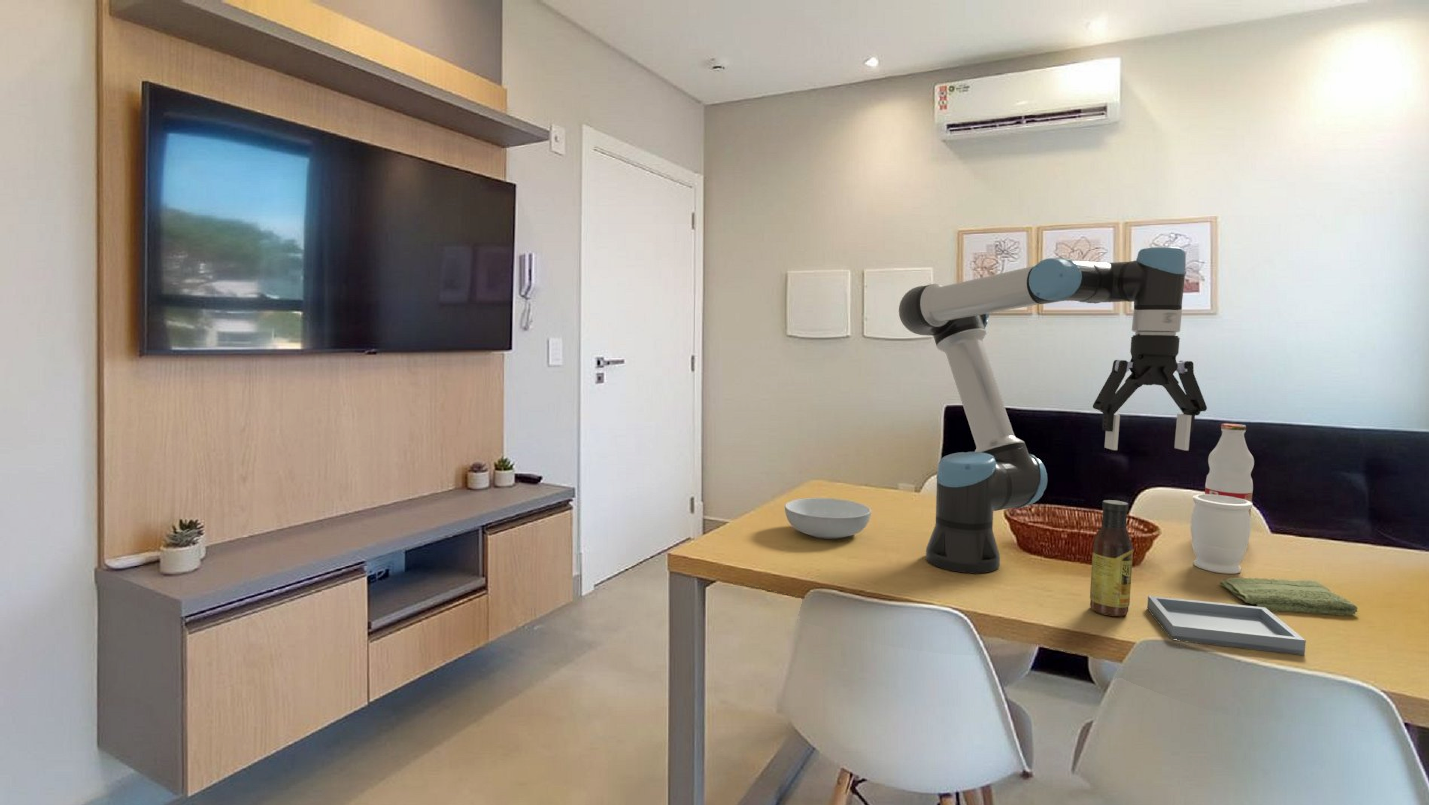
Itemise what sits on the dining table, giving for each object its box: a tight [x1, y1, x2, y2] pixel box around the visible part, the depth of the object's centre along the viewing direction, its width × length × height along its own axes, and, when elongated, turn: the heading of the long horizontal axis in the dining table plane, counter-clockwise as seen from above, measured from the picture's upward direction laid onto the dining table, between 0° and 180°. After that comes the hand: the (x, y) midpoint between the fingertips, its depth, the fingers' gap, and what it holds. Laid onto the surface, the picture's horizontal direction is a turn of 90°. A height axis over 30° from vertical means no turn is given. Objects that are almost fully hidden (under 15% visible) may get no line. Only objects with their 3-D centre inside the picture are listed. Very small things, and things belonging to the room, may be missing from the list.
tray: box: [1146, 595, 1307, 656], centre depth 120 cm, size 18×14×2 cm
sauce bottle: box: [1089, 499, 1134, 617], centre depth 127 cm, size 7×6×20 cm
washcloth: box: [1219, 577, 1358, 617], centre depth 134 cm, size 13×18×3 cm
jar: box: [1190, 493, 1253, 575], centre depth 152 cm, size 11×10×15 cm
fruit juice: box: [1204, 423, 1255, 517], centre depth 175 cm, size 9×9×28 cm
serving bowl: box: [784, 497, 872, 540], centre depth 176 cm, size 21×21×7 cm
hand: (1146, 449), depth 132 cm, fingers open, 13 cm apart
